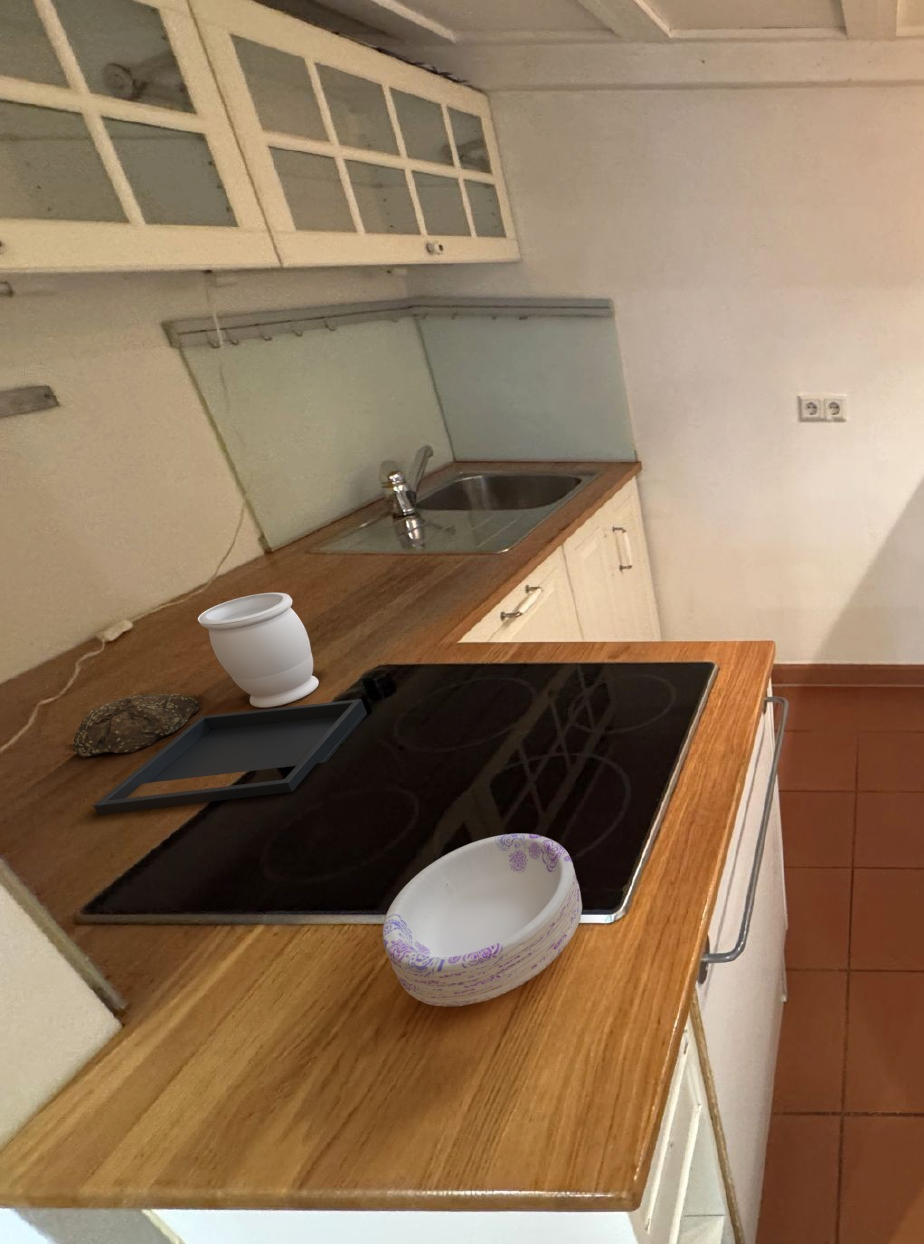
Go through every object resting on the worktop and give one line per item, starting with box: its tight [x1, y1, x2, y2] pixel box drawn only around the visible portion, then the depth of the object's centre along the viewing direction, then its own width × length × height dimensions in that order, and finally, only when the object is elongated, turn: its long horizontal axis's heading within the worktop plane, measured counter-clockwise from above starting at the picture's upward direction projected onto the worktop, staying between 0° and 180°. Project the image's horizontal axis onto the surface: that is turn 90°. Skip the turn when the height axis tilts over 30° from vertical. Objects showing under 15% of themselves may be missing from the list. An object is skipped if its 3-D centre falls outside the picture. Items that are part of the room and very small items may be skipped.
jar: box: [197, 592, 320, 709], centre depth 104 cm, size 11×10×15 cm
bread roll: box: [72, 693, 200, 758], centre depth 97 cm, size 13×12×5 cm
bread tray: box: [93, 698, 368, 816], centre depth 91 cm, size 21×19×3 cm
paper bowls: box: [382, 833, 583, 1007], centre depth 63 cm, size 15×15×8 cm
